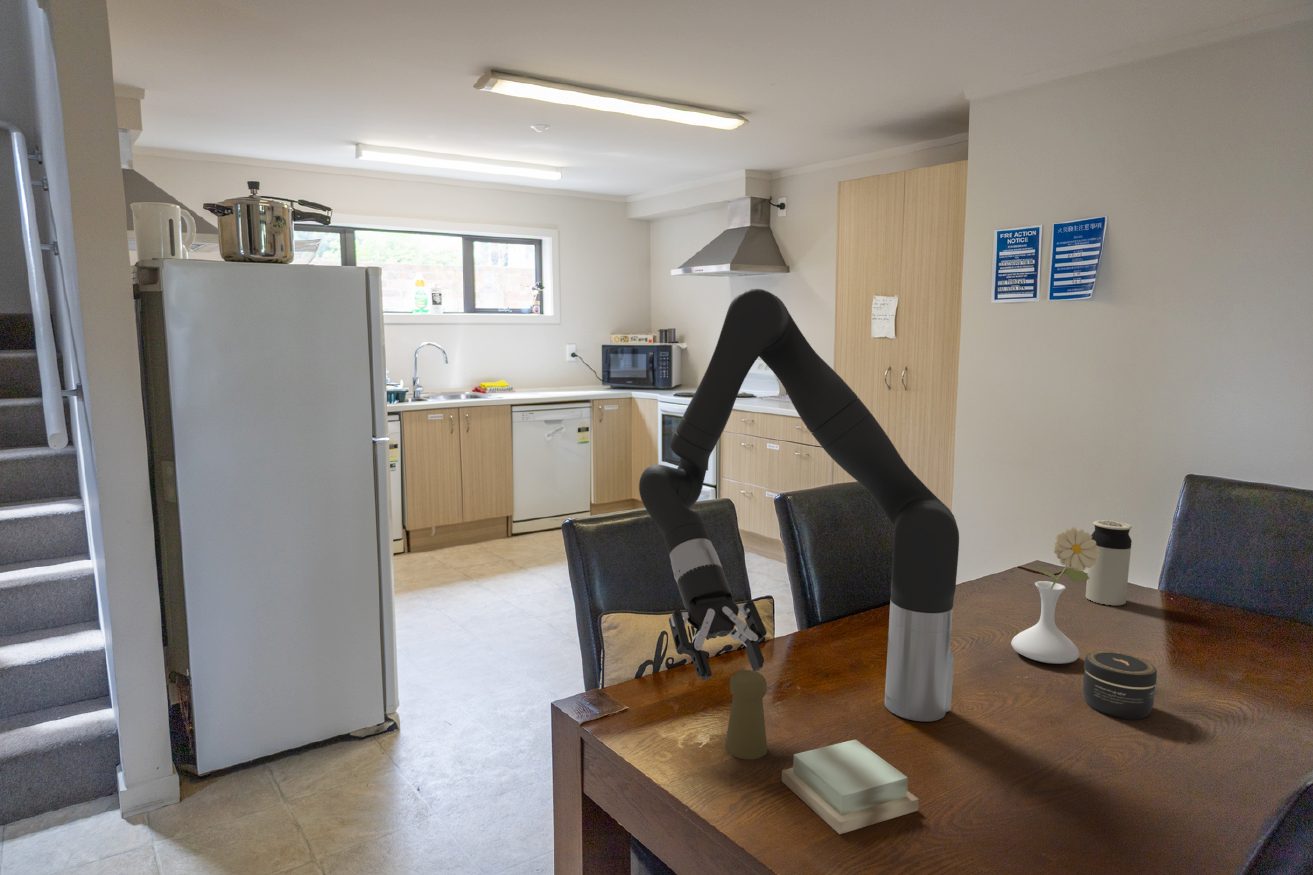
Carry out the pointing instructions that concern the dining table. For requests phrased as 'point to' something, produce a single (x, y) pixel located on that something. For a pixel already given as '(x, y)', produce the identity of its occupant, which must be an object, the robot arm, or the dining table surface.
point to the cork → (747, 716)
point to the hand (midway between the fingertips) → (733, 673)
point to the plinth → (849, 786)
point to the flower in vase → (1045, 636)
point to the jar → (1119, 684)
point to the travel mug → (1110, 563)
